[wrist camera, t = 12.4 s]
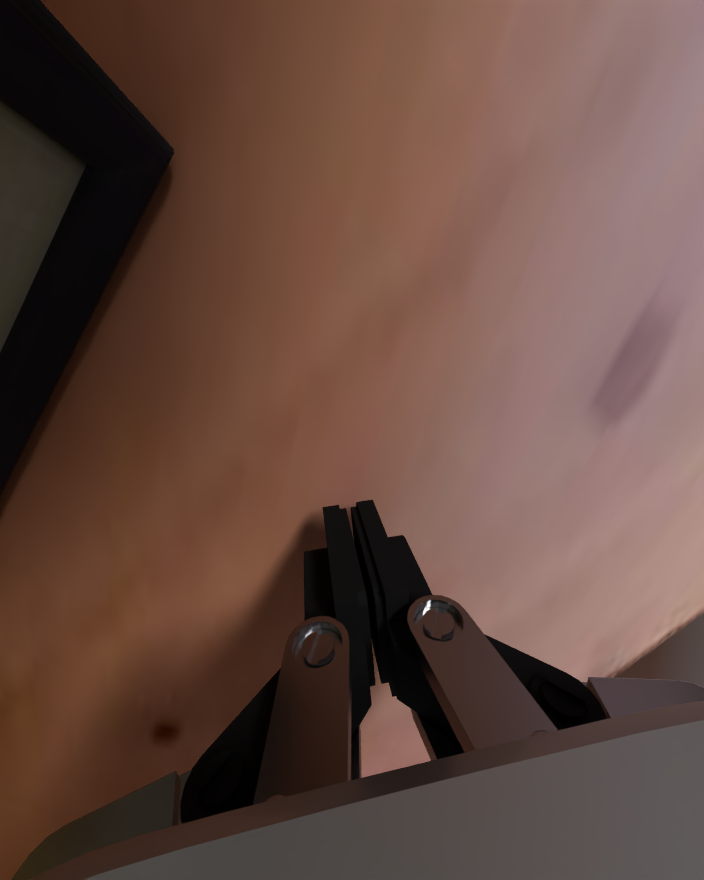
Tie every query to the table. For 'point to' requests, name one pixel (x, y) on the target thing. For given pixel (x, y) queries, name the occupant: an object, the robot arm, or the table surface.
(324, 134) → the table surface
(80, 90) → the picture frame
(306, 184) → the table surface
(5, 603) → the table surface
